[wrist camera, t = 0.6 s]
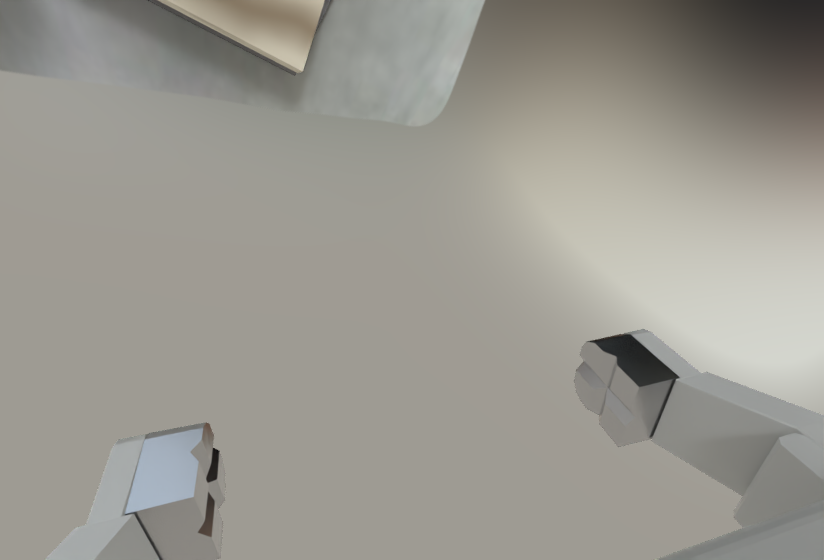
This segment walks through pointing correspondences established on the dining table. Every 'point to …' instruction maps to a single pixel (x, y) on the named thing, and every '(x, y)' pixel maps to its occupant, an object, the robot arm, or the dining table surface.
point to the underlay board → (325, 5)
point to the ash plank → (260, 25)
